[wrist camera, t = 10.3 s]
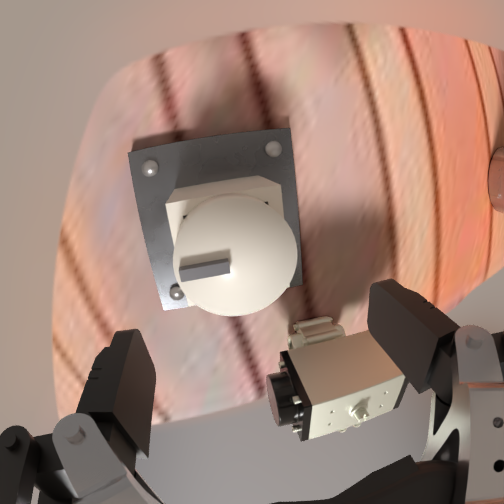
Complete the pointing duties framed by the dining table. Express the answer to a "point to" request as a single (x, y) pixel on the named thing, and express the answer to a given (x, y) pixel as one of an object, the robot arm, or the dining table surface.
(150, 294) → the dining table surface
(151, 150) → the shaft mount
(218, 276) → the knob
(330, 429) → the pneumatic valve
